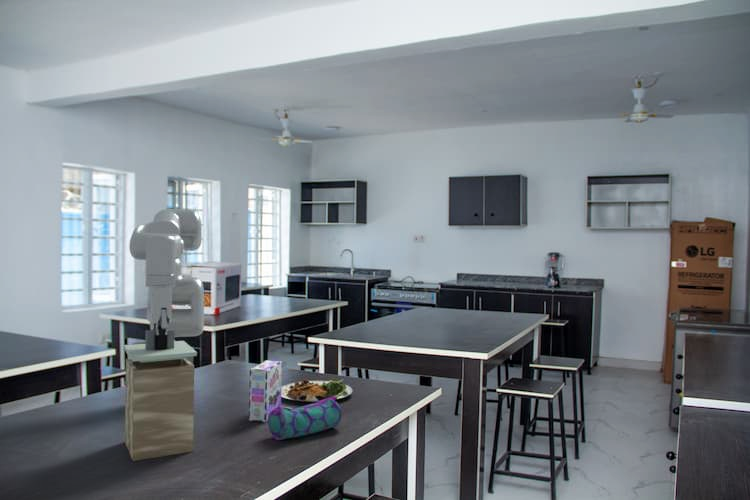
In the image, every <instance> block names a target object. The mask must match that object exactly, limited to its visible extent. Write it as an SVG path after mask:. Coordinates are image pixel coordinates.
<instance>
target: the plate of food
mask: <svg viewBox="0 0 750 500" xmlns="http://www.w3.org/2000/svg"><path fill="white" fill-rule="evenodd" d="M343 381H344V379H341V380H337V381H335V380H307V379H304V378H302V379H301V381H298V382H297V381H296V382H292V383H286V384H284V385H282V386H281V398H283V399H288V400H292V401H298V402H299V401H300V402H312V403H316V402H319V401H321V400H324V399H327V398H332V397H333V396H336V397H337V399H336V400H339V399H343V398H346V397H348V396H350V395H351V394H353V388H352V387H351V386H350V385H348V384H345V383H343ZM288 395H290V397H291V398H290V397H288Z"/></svg>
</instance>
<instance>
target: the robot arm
mask: <svg viewBox="0 0 750 500" xmlns="http://www.w3.org/2000/svg"><path fill="white" fill-rule="evenodd" d="M202 229H203V228H202V219H201V217H200V215H199V213H198V212H197V211H195V210H194V209H193V210H192V209H177V208H176V209H171V208H169V209H168V208H167V209H161V210H159V211H157V213H156V214H155V215H154V218H153V221H150V222H148V223H144V224H141V225H138V226H136V227H135V228H134V230H133V231H132V233H131V236H130V240H129V246H128V247H129V253H130V255H131V256H132V258H134V259H135V260H138V261H141V260H142V261H143V260H144V261H145V288H146V287H147V288H148V291H147V306H146V320H147V321H148V322H149V327H150V329H149V330H156V335H155V347H154V349H155V350H165V349H167V329H174V341H176V339H175V338H179V337H180V338H181V337H183V338H184V337H185V338H187V337H188V338H189V337H198V336H200V335H202V334H203V331H204V328H205V327H204V326H205V289H204V284H203V281H202V279H200V278H199V277H195V276H193V277H192V276H183V275H182V274H183V273H182V269H183V268H182V266H183V264H182V261H181V259H180V258H181V257H182V255H183V254H184V252H186V251H187V252H191V251H192V252H193V251H198V249H199V248H200V247H201V244H202V237H203V235H202V231H203V230H202ZM174 305H175V306H177V305H178V306H179V305H181V306H183V305H184V306H185V305H187V306H189V307H190V308H173V307H172V306H174Z"/></svg>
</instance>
